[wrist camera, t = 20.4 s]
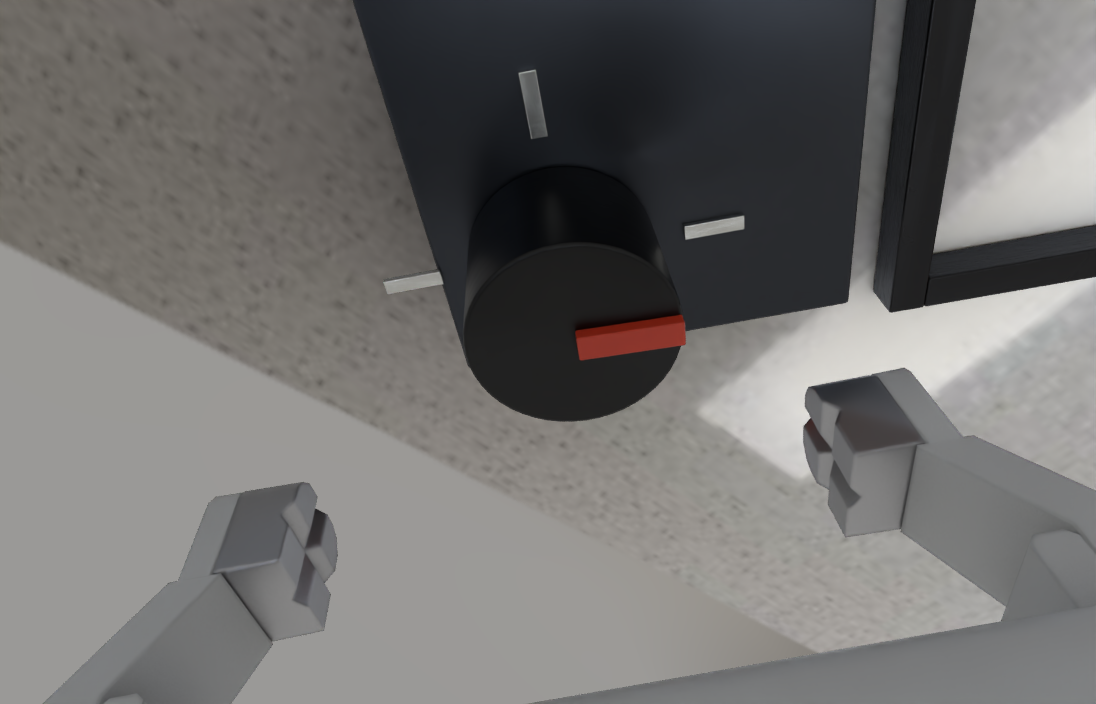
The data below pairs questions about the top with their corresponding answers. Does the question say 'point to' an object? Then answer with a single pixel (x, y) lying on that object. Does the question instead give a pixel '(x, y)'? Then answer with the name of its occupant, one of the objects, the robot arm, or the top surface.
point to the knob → (568, 297)
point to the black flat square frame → (919, 179)
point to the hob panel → (642, 130)
